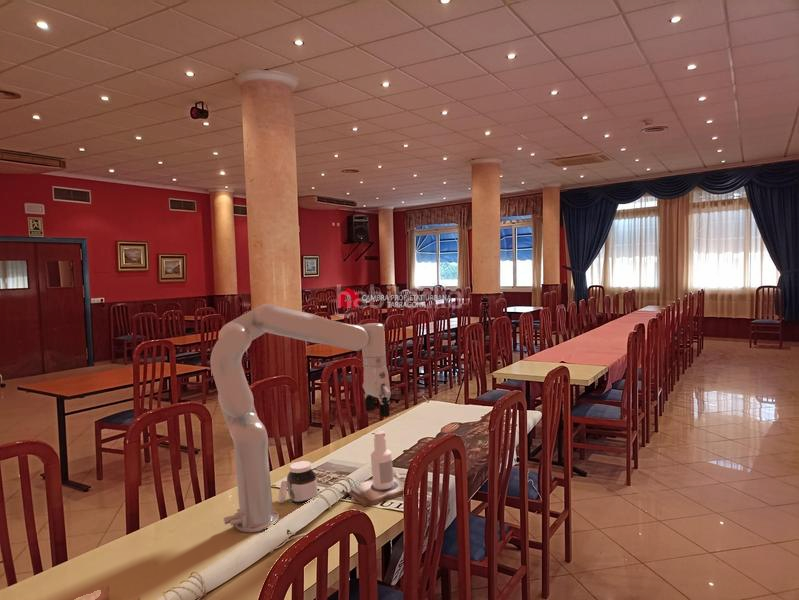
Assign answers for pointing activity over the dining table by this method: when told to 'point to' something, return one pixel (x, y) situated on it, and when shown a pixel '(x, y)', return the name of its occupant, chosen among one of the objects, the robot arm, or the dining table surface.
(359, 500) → the square pad with disc
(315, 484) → the spread jar
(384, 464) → the spray bottle
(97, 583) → the dining table surface
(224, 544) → the dining table surface
